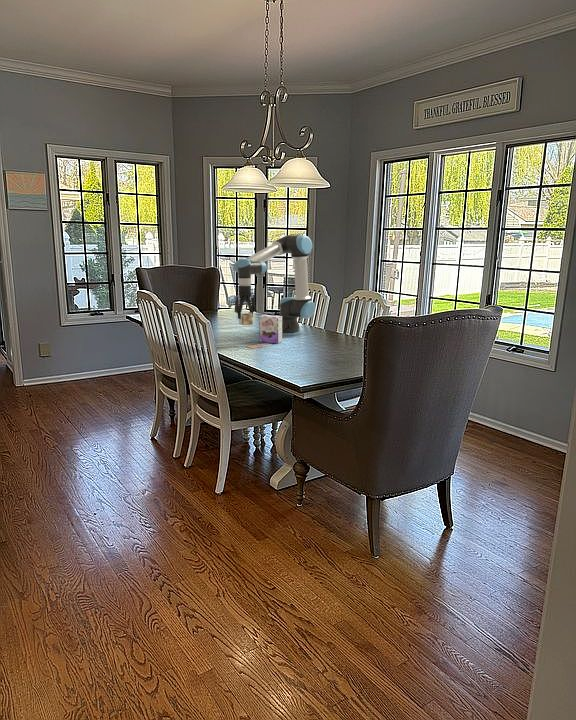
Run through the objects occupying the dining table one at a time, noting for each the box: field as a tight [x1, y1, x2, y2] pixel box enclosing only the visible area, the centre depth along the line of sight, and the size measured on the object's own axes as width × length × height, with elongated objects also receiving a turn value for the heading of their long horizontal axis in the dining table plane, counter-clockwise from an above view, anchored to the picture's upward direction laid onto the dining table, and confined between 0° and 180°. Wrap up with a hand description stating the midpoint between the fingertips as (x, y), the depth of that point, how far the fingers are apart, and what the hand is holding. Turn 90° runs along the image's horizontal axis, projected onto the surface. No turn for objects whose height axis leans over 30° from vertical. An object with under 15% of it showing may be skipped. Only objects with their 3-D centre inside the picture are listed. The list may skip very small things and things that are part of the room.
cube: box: [241, 312, 254, 326], centre depth 319 cm, size 6×6×6 cm
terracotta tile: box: [245, 344, 263, 350], centre depth 316 cm, size 7×7×1 cm
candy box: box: [258, 314, 283, 345], centre depth 329 cm, size 14×6×16 cm, turn 62°
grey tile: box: [256, 342, 273, 348], centre depth 321 cm, size 7×7×1 cm
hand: (245, 323), depth 320 cm, fingers closed on cube, 6 cm apart
